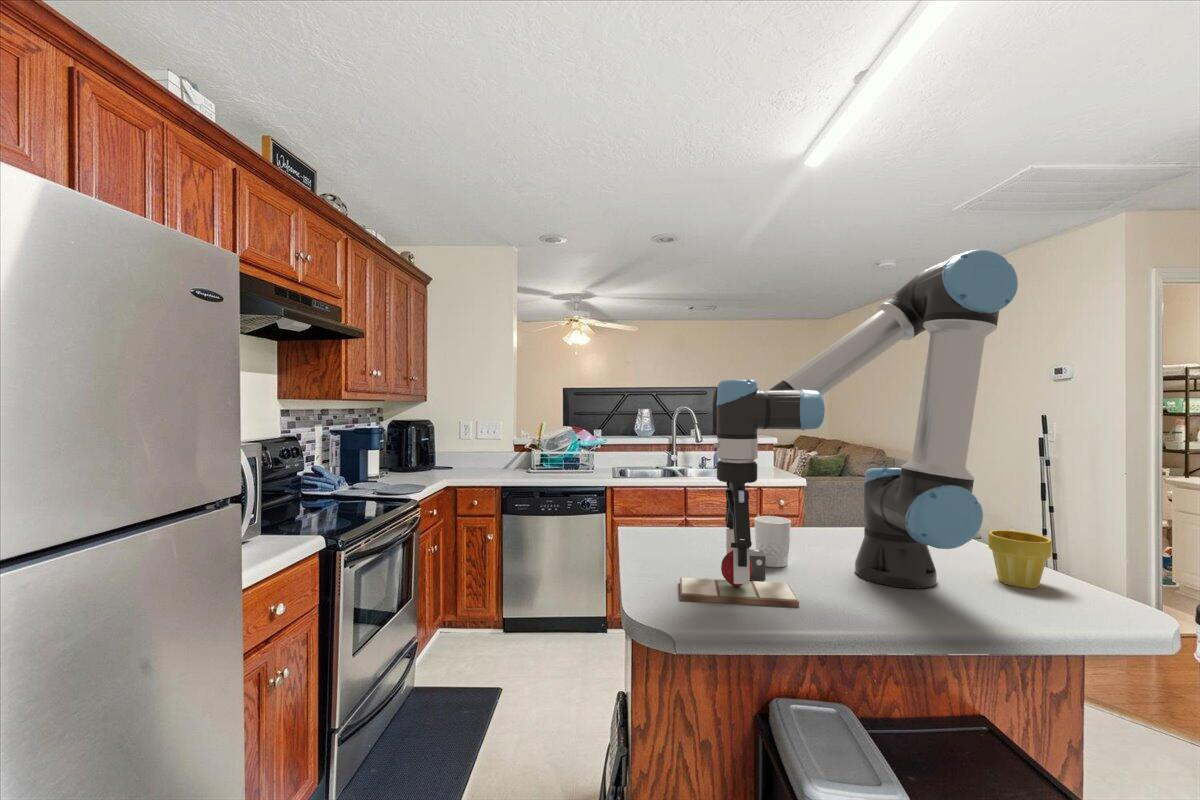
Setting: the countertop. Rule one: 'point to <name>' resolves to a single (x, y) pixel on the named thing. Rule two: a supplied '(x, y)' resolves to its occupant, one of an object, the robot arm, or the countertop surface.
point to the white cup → (773, 539)
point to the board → (737, 592)
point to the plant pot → (1019, 556)
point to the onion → (730, 569)
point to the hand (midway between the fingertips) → (737, 571)
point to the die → (757, 564)
